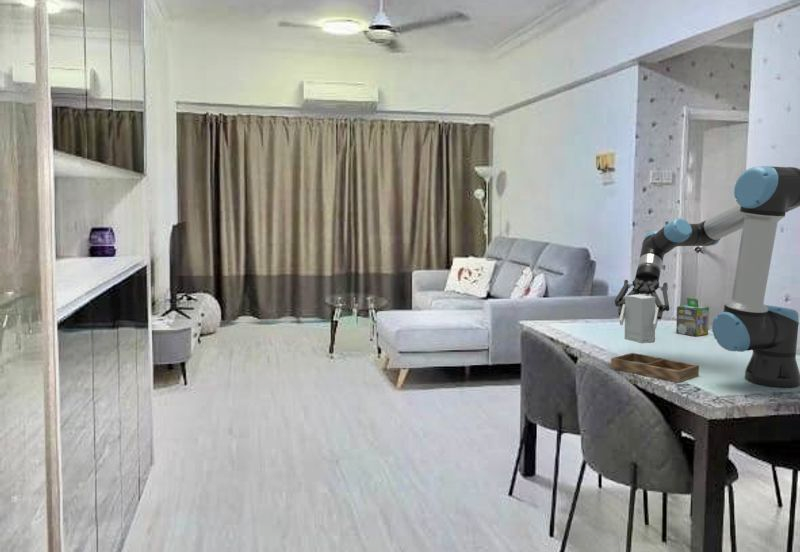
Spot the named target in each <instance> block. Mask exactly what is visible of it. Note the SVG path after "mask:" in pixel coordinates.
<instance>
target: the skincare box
mask: <svg viewBox="0 0 800 552" xmlns="http://www.w3.org/2000/svg"><path fill="white" fill-rule="evenodd" d="M624 298H625V317H624V340H627V341H631V342H635V343H638V344H652V343H655V341H656V329H654V327H653V321H654V316H655V311H656V303H655V297H652V296H651V295H645V294H637V295H628V294H627V295H625V296H624Z"/></svg>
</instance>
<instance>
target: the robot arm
mask: <svg viewBox="0 0 800 552" xmlns="http://www.w3.org/2000/svg"><path fill="white" fill-rule="evenodd" d="M733 196H734V199H736V203H737V204H736V205H734V206H731V207H729V208H728V209H725V210H723V211H722V212H719V213H718V214H715V215H713V216H711V217H709V218H707V219H705V220H703V221H701V222H700V223H689V222H688V221H687V220H685V219H683V218H681V217H679V218H675V219H672V220H671V221H670V222H668V223H667V224H666V225H664V226H663V227H662V228H661V229H660V230H652V231H648V232H647V233H646V234H645V235H644V237H643V240H642V243H641V244H642V245H641V250H640V255H639V260H638V264H637V269H636V272H635V277H634V279H633V281H629V280H628V279H624V280H623V286H622V288H620V290H619V293H618V294H617V296H616V298H615V299H614V304H615V307H618V310H617V313H618V316H619V321H618V322H619V325H620V326H624V322H625V296H627V295H637V294H638V295H646V296H652V297H655V316H654V321H653V327H654V329H655V330H656V329H657V325H658V321H659V320H662V319H663V313H664V311H666V312H668V311H670V303H669V298H668V288H669V287H668V282H663V283H660V278H661V277H660V276H661V271H662V268H663V267H662V266H663V261H664V257H665V255H666V254H667V253H669V252H671V251H672V250H673V249H675V248H677V247H709V246H715V245H717V244H718V243H719V242H720V240H721V239H722V238H724V237H726V236H728V235H731V234H733V233H735V232H737V231H739V230H740V231H741V230H742V231H741V237H740V244H739V249H738V255H737V256H738V257H737V262H736V268H735V274H734V281H733V285H732V291H731V292H732V293H731V297H730V299H728V300H726V301H725V302H724V306H723V311H722V312H720V313H718V314H717V315H716V316H715V317H714V318H713V320H712V326H711V329H712V330H711V331H712V335H713V336H714V339H715V340H716V342H717V344H718V345H719V346H720V347H721V348H723V349H724V350H726V351H729V352H741V353H743V352H745V351H747V352H749V351H752V355H751V358H750V360H749V361H748V363H747V366H746V368H745V371H744V379H745V380H746V381H748V382H750V383H753V384H756V385H757V384H758V385H763V386H768V387H776V388H795V387H798V386H800V369H799V365H798V362H797V359H796V358H797V345H798V334H799V333H798V332H799V325H800V322H799V317H800V316H799V315H800V314H799V312H798V310H796V309H793V308H788V307H782V306H776V305H775V306H774V305H769V304H768V305H767V304H765V303H764V302H765V301H764V300H765V296H766V290H767V285H768V279H769V273H770V269H771V261H772V256H773V251H774V246H775V240H776V234H777V233H776V232H777V229H778V228H777V227H778V223H779V222H780V221H781V220H782V219H783V218H785V217H786V213H788V212H790V211H792V210H795V209H797V208H799V207H800V168H798V167H793V166H770V165H761V166H752V167H750V168H748V169H746V170H745V171H743V173H741V174H740V175H739V177H737V180H736V182H735V185H734V190H733ZM632 286H633V287H632ZM631 287H632V289H631ZM659 288H660V291H661V292H662V297H663V298H662V299H663V303H664V304H662V302H661V300H660V298H659V295H658V293H657V292H656V291H657V290H658V289H659ZM629 289H631V291H630V292H629V293H628V291H629ZM627 293H628V294H627ZM626 294H627V295H626Z"/></svg>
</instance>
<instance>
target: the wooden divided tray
mask: <svg viewBox="0 0 800 552" xmlns="http://www.w3.org/2000/svg"><path fill="white" fill-rule="evenodd" d="M610 369H612V370H617V371H622V372H627V373H631V374H636V375H639V376H640V375H641V376H645V377H651V378H653V379H654V378H655V379H659V378H660V379H659V380H663V379H665V380H664V381H668V380H670V381H669V382H673V381H674V383H677V382H679V383H681V381H682V382H685V381H688V380H690V378H691V379H693V377H694V378H696V377H698V376H699V375H700V374H699V372H700V365H697V364H693V363H688V362H683V361H677V360H671V359H667V358H662V357H658V356H656V357H655V356H652V355H651V356H650V355H646V354H640V353H635V352H630V353H626V354H623V355H619V356H615V357H611V359H610ZM687 379H688V380H687ZM684 380H685V381H684Z"/></svg>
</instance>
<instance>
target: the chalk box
mask: <svg viewBox="0 0 800 552" xmlns="http://www.w3.org/2000/svg"><path fill="white" fill-rule="evenodd" d="M686 302H687V304H684V305H683V304H682V305H678V306H677V307H676V330H675V331H676V333H675V334H679V335H680V334H681V335H685V336H689V337H701V336H704V335H708V334H709V320H710V318H709V317H710V306H707V305H699V300H698V299H697V298H690V297H687V298H686ZM691 302H694V304H693V303H691Z"/></svg>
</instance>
